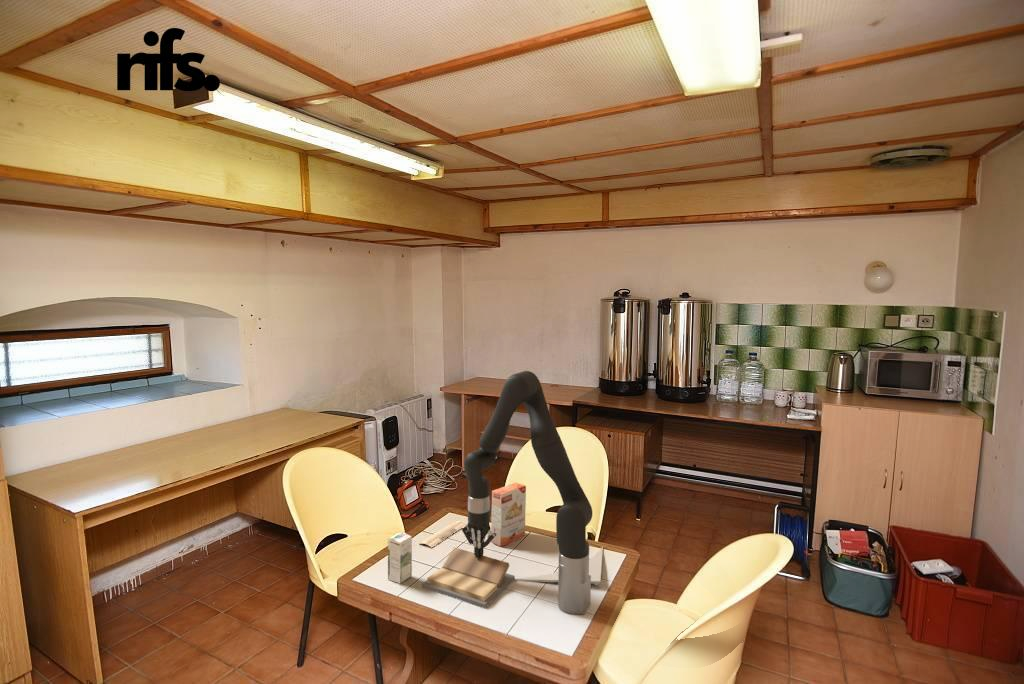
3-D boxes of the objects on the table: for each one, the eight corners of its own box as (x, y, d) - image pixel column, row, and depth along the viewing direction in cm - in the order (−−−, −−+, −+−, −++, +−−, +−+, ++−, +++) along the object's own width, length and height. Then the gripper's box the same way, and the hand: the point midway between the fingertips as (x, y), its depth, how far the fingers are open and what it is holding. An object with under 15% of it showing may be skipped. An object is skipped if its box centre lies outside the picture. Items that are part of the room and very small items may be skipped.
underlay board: (514, 579, 173) (514, 575, 173) (484, 608, 157) (484, 604, 157) (456, 561, 185) (456, 558, 185) (422, 586, 168) (422, 583, 168)
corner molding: (510, 584, 173) (600, 586, 167) (510, 579, 173) (600, 581, 167) (526, 550, 203) (603, 551, 197) (525, 545, 203) (602, 546, 197)
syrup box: (399, 572, 178) (399, 531, 176) (412, 576, 174) (412, 535, 173) (387, 579, 173) (387, 537, 172) (400, 584, 170) (400, 542, 168)
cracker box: (501, 548, 195) (501, 494, 194) (490, 542, 199) (490, 490, 198) (526, 536, 205) (526, 485, 204) (515, 531, 210) (515, 481, 208)
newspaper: (455, 523, 218) (455, 519, 218) (469, 527, 214) (469, 523, 214) (419, 546, 198) (419, 541, 198) (433, 551, 194) (433, 546, 194)
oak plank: (497, 589, 165) (497, 584, 165) (484, 601, 158) (484, 596, 158) (441, 571, 176) (441, 567, 176) (427, 582, 169) (427, 577, 169)
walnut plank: (509, 565, 172) (508, 562, 171) (498, 586, 166) (497, 583, 165) (455, 550, 182) (454, 547, 182) (443, 569, 177) (442, 566, 176)
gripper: (501, 508, 174) (500, 557, 176) (468, 500, 181) (468, 547, 182) (489, 516, 168) (489, 567, 169) (456, 507, 174) (456, 556, 176)
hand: (478, 556), depth 176 cm, fingers closed
